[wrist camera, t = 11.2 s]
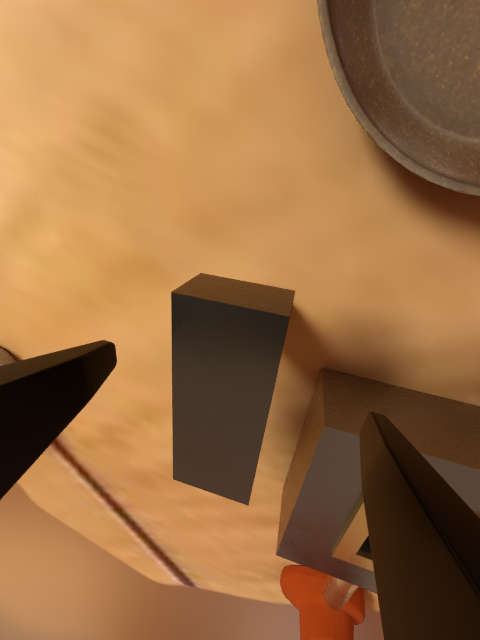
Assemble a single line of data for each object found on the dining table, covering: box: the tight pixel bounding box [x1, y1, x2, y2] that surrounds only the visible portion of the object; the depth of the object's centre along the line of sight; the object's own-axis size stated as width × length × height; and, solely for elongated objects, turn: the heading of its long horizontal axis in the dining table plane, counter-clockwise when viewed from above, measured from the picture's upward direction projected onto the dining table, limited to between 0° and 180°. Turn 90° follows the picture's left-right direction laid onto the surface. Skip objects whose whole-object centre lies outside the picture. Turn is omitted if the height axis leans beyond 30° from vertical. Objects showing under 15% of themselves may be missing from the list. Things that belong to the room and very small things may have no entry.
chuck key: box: [171, 273, 295, 505], centre depth 11 cm, size 3×7×8 cm, turn 174°
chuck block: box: [276, 368, 480, 611], centre depth 17 cm, size 12×20×5 cm, turn 173°
